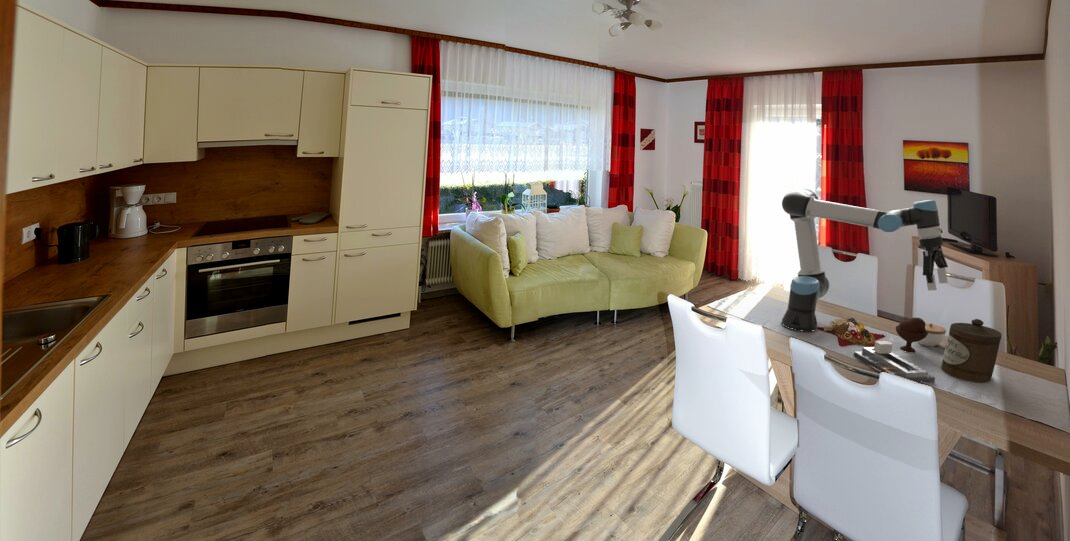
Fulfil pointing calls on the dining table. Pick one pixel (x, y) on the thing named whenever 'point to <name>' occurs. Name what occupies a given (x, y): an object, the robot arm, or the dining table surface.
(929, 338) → the lidded jar
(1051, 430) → the dining table surface
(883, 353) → the fader knob
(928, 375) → the fader console
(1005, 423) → the dining table surface
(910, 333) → the ice cream bowl
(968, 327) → the wooden container
